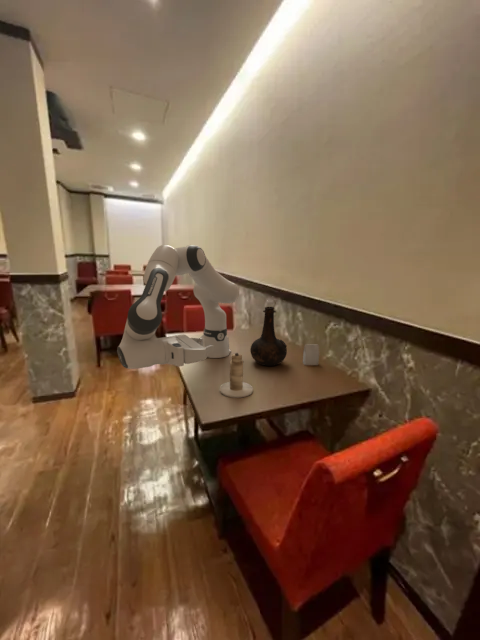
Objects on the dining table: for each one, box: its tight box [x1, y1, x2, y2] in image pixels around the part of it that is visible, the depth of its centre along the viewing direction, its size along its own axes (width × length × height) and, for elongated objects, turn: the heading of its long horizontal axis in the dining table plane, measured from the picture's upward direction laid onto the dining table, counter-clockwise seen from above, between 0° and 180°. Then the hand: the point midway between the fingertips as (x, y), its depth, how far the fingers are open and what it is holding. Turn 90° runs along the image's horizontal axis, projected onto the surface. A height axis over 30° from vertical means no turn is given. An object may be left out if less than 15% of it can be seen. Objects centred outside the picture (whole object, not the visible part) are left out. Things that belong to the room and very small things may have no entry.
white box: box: [302, 343, 320, 366], centre depth 153 cm, size 4×7×10 cm, turn 96°
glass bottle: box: [249, 306, 288, 367], centre depth 151 cm, size 18×18×28 cm
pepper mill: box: [229, 352, 244, 391], centre depth 120 cm, size 5×5×14 cm
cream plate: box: [219, 381, 254, 399], centre depth 121 cm, size 13×13×1 cm
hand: (207, 343), depth 111 cm, fingers open, 8 cm apart
